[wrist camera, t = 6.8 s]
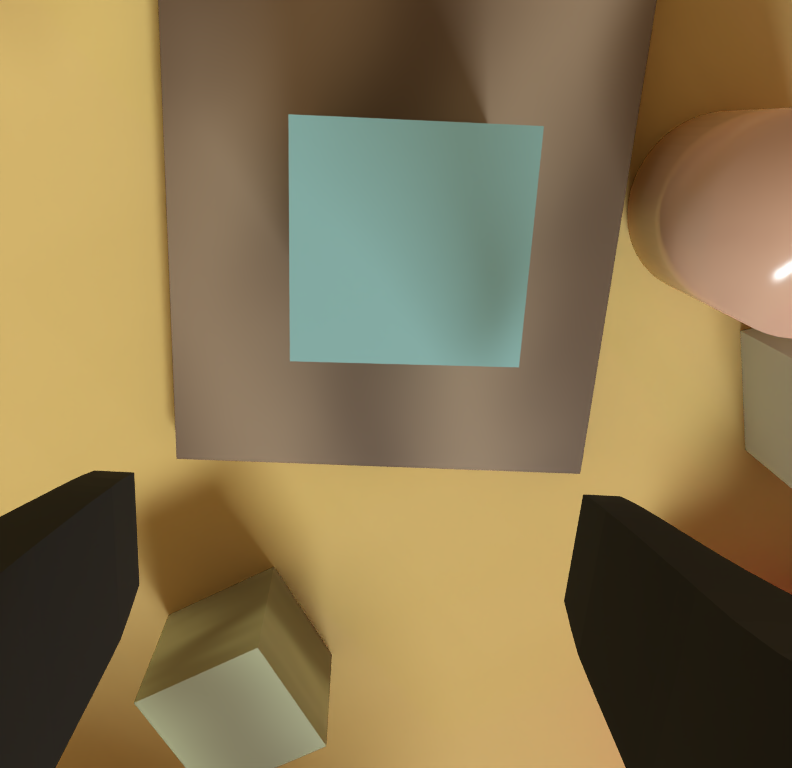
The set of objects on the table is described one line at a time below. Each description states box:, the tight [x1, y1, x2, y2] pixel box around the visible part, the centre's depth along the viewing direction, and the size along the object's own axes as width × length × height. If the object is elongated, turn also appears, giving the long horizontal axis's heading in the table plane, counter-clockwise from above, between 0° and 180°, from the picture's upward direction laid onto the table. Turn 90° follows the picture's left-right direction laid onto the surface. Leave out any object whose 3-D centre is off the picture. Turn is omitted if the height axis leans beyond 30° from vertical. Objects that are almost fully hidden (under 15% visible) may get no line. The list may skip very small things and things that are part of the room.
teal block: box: [288, 114, 544, 367], centre depth 16 cm, size 4×4×6 cm
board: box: [158, 0, 657, 474], centre depth 19 cm, size 12×16×1 cm
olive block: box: [134, 567, 332, 768], centre depth 23 cm, size 4×4×4 cm
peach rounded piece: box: [627, 108, 792, 339], centre depth 18 cm, size 5×5×5 cm
